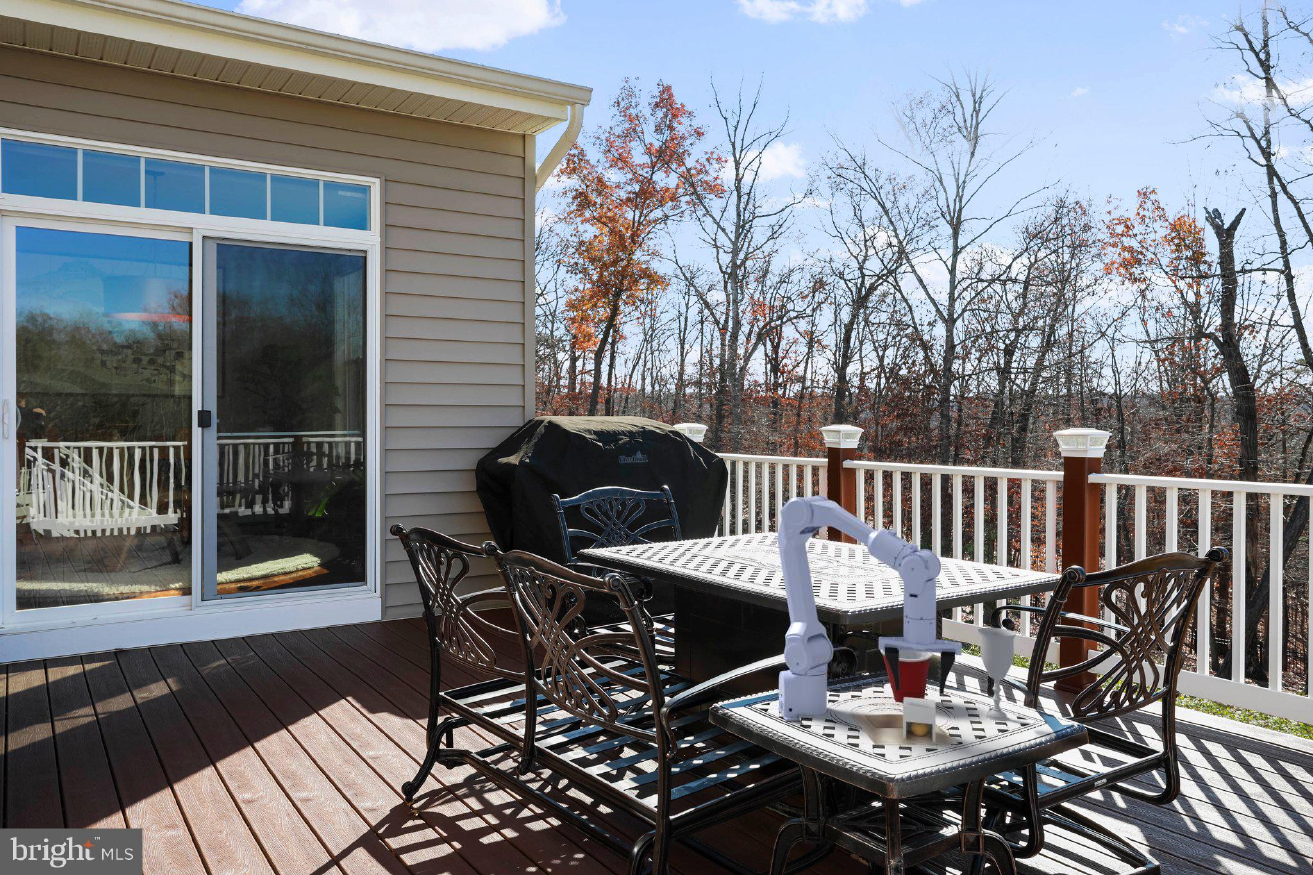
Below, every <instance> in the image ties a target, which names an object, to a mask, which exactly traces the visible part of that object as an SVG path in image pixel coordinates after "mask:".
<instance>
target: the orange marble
mask: <svg viewBox="0 0 1313 875" xmlns="http://www.w3.org/2000/svg"><path fill="white" fill-rule="evenodd" d="M911 730H912V732H913V733H914V734H915V735H917V736H923V735H925V734H926V733H927V731H928V726H927V724H926V723H916V722H912V723H911Z"/></svg>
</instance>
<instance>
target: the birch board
mask: <svg viewBox="0 0 1313 875" xmlns="http://www.w3.org/2000/svg"><path fill="white" fill-rule="evenodd" d="M849 715H850V717H851V718H852V719H853V720H854V721H855V722H856V724H857V725H858V726H859V727H860V728H861V730H862V731H863V732H864V733H865V735H866V736H867V737H868V738H869V739H870V740H871V741H872V742H873V744H874V745H875V746H894V745H895V746H898V745H901V746H904V745H908V746H909V745H910V746H911V745H913V746H915V745H916V746H917V745H919V746H920V745H959V743H958V742H957V741H956V740H955V739H954V738H952V736H950V735H949V734H948V733H947V732H945V730H943V729H942V728H941V727H940V726H939V725H938V724H937V723H936V728H935V742H933V740H932V733H929V732H927V733H926V734H925V735H923V736H917V735H915V734H914V733H913V732H912V731H909V730H907V731H906V739H903V713H872V714H871V713H865V714H864V713H863V714H862V713H859V714H858V713H856V714H854V713H853V714H851V713H850V714H849Z"/></svg>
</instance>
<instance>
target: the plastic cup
mask: <svg viewBox="0 0 1313 875" xmlns="http://www.w3.org/2000/svg"><path fill="white" fill-rule="evenodd" d="M879 650H880V653H881V654H882V658H883V661H884V664H885V668H886V671H887V676H888V681H889V685H890V688H891V691H892V694H893V695H892V696H893V699H894V701H895V703H901V704H903V702H904V697H908V698H919V699H926V688H927V685H928V673H929V666H930V662H931V658H932V657H933V655H934V652H921V651H907V650H899V676H900V690H896V687H895V681H894V677H893V674H892V671H891V668H890V665H889V663H888V661H887V659H886V657H885V649H884V650H882V649H879Z"/></svg>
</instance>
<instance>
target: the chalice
mask: <svg viewBox="0 0 1313 875" xmlns="http://www.w3.org/2000/svg"><path fill="white" fill-rule="evenodd" d="M977 631H978V634H979V635H980V657H981V660H982V663H983V666H984V668H985V670H986V673H987V674H988V676H989V677H990V678H991V679H993V687H992V688H991V689H992V691H993V693H994V695H993V697H992V700H993V703H994V705H993V707H992V709H989V710H988V711H987V712H986V715H985V717H986V719H989V720H992V721H999V722H1006V721H1008V720H1009V718H1008V714H1007V713H1006V712H1005V711H1004V710H1002V709H1001V707H1000V703H1001V701H1002V698H1001V696H1000V692H1001V691H1002V688H1001V685H1000V683H1001V682H1000V681H1001V680H1003V679H1005V678H1006V676H1007V674H1008V673H1009V670H1010V669H1011V666H1012V663H1013V662H1014V651H1015V650H1014V639H1015V637H1016V635H1017V632H1015V631H1013V630H1010V629H1007V628H1005V629H1004V628H999V627H981V628H979V629H977Z"/></svg>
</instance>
